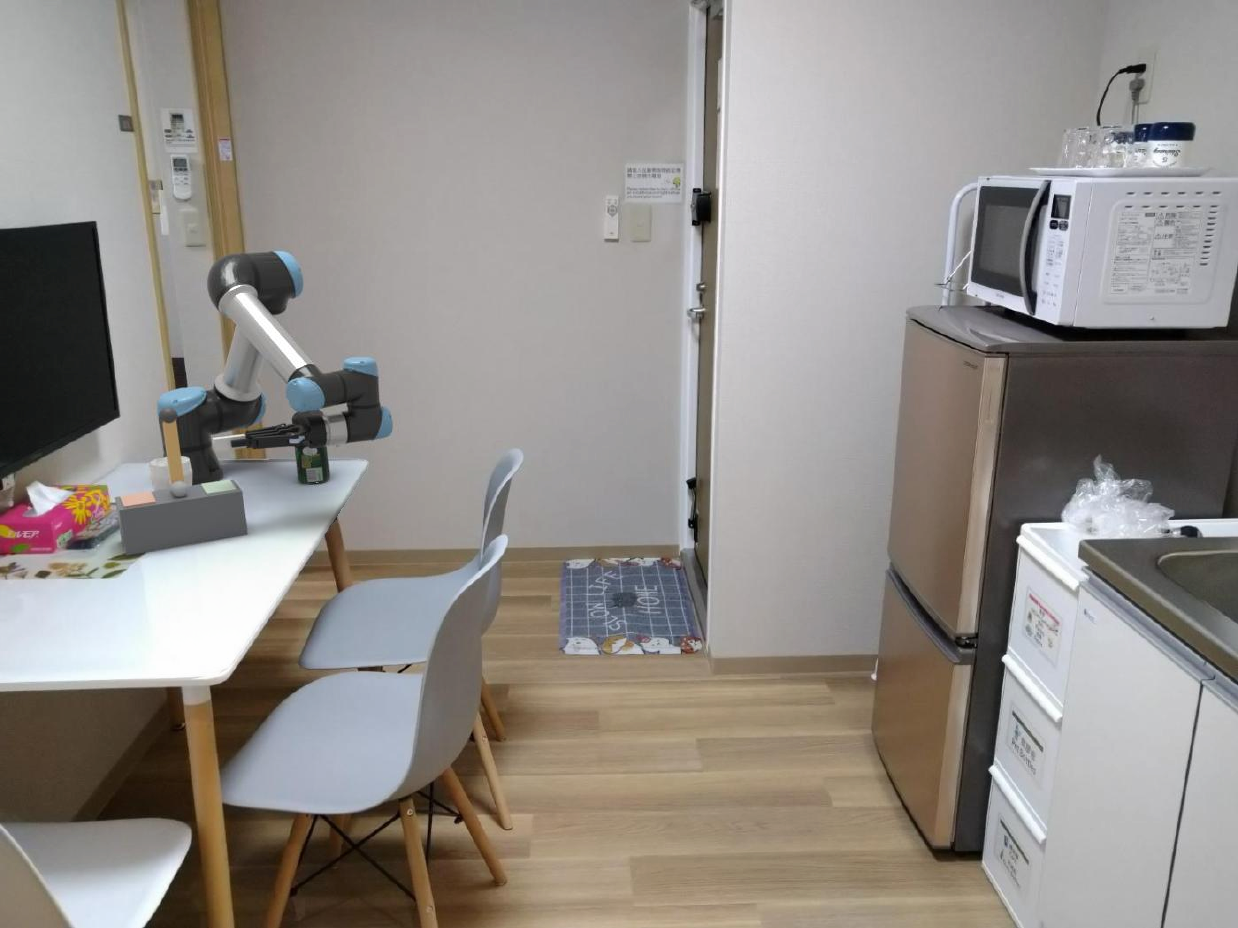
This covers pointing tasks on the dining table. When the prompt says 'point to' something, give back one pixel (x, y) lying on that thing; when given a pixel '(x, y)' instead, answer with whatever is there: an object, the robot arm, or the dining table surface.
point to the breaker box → (180, 517)
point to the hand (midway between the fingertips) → (213, 444)
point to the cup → (162, 476)
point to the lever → (173, 451)
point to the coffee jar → (310, 456)
